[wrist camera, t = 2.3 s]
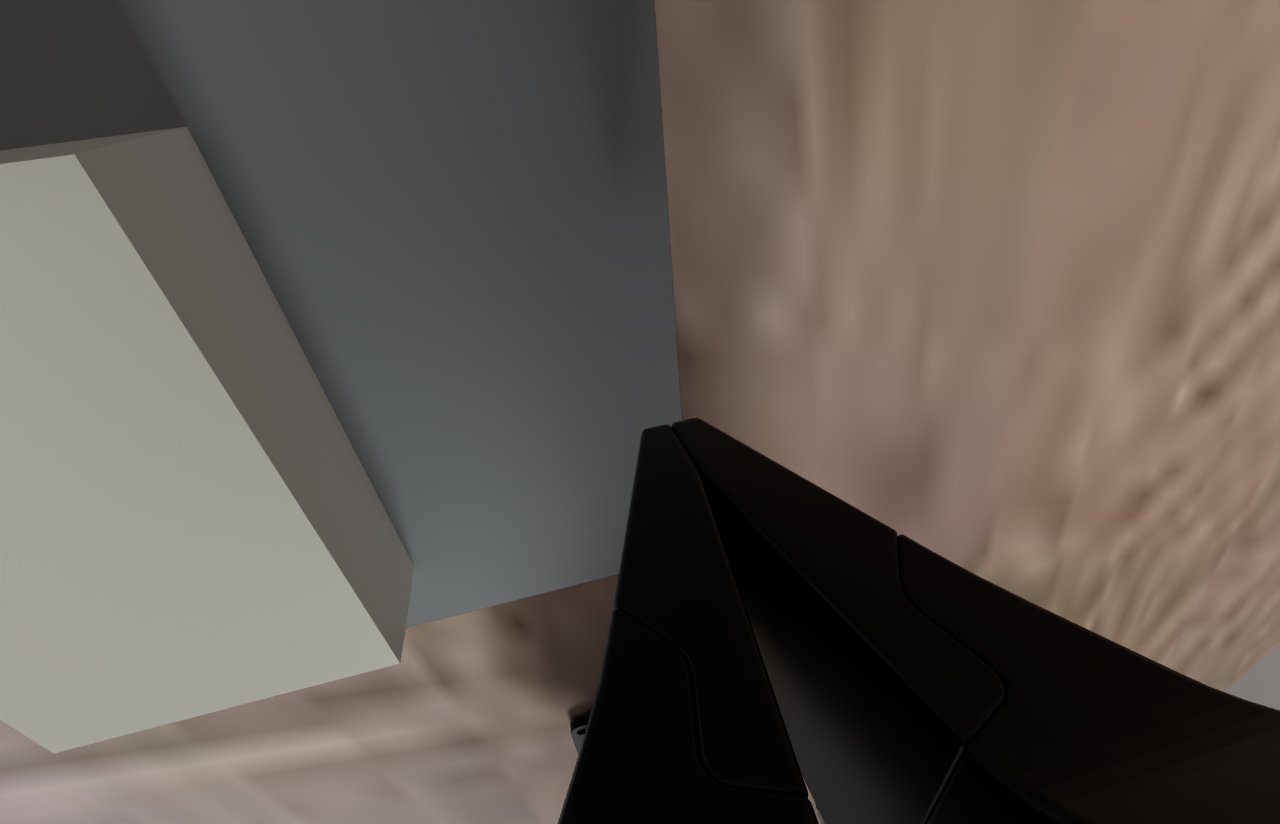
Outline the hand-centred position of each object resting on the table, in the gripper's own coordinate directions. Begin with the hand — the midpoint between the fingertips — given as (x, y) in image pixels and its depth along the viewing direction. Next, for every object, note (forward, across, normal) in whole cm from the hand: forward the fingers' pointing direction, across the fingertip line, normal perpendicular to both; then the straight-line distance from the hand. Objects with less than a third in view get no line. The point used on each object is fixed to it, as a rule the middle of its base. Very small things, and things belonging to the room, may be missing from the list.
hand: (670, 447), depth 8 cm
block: (+3, +8, 0) cm, 9 cm away
